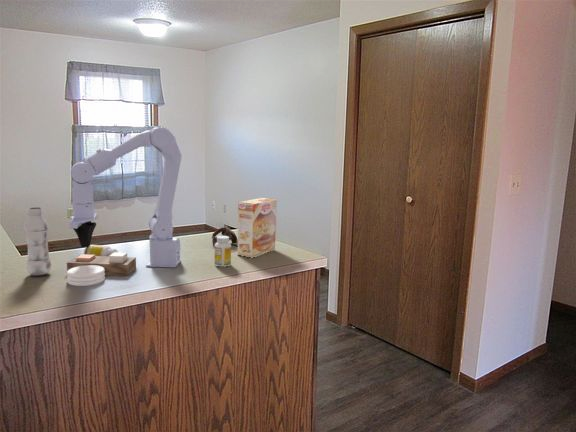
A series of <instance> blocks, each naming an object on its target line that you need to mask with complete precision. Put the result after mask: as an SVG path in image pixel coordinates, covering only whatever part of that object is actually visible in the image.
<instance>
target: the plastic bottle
mask: <svg viewBox="0 0 576 432" xmlns="http://www.w3.org/2000/svg"><path fill="white" fill-rule="evenodd" d="M27 211H28V212H27V214H28V218H27V219H26V220H25V222H24V223H23V230H24V235H25V239H26V245H27V260H26V270H27V273H28V274H29V275H30V276H44V275H48V274H50V272H51V271H52V261H51V257H50V252H49V244H48V243H49V239H48V238H49V226H50V225H49V223H48V220H46V218H45V217H44V216H43V215H44V212H43V207H39V206H38V207H37V206H35V207H29V208H27Z"/></svg>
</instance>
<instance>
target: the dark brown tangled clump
mask: <svg viewBox="0 0 576 432" xmlns="http://www.w3.org/2000/svg"><path fill="white" fill-rule="evenodd" d="M219 234H221V235H220V236H228V237H229V242H230V241H231V244H232V243H234V244H235V245H236V247H237V246H238V236H237V234H236V233H235V232H234V231H233V230H232V229H229V227H226V226H224V227H223V226H222V227H220V228H218V229H217V230H215V231H213V233H212V236H211V239H212V246H213V247H215V244H216V243H217V237H218V236H219Z"/></svg>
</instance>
